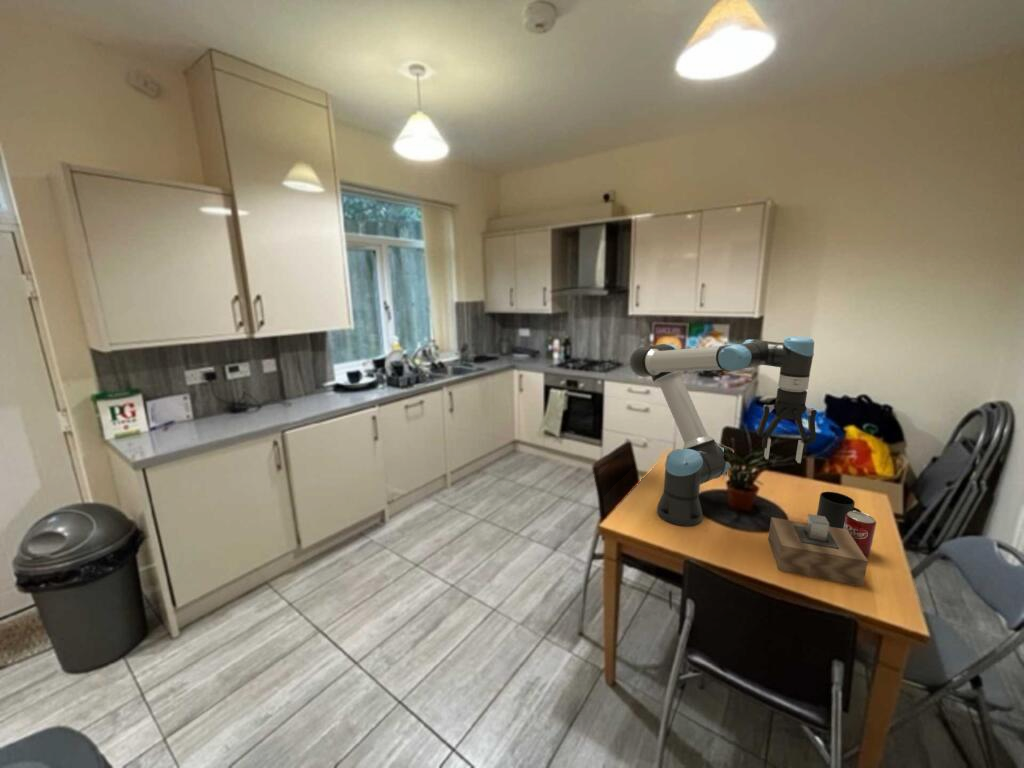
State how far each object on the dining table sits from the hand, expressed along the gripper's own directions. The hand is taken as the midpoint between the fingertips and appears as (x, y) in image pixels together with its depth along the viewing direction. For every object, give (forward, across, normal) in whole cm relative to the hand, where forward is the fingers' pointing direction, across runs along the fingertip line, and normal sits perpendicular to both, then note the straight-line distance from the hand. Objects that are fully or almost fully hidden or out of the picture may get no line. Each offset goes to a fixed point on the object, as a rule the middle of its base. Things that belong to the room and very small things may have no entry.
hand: (781, 459), depth 133 cm
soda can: (+27, +22, 0) cm, 35 cm away
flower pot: (+27, -12, +50) cm, 58 cm away
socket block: (+27, +9, -10) cm, 30 cm away
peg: (+21, +9, -10) cm, 25 cm away
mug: (+27, +23, +17) cm, 40 cm away
